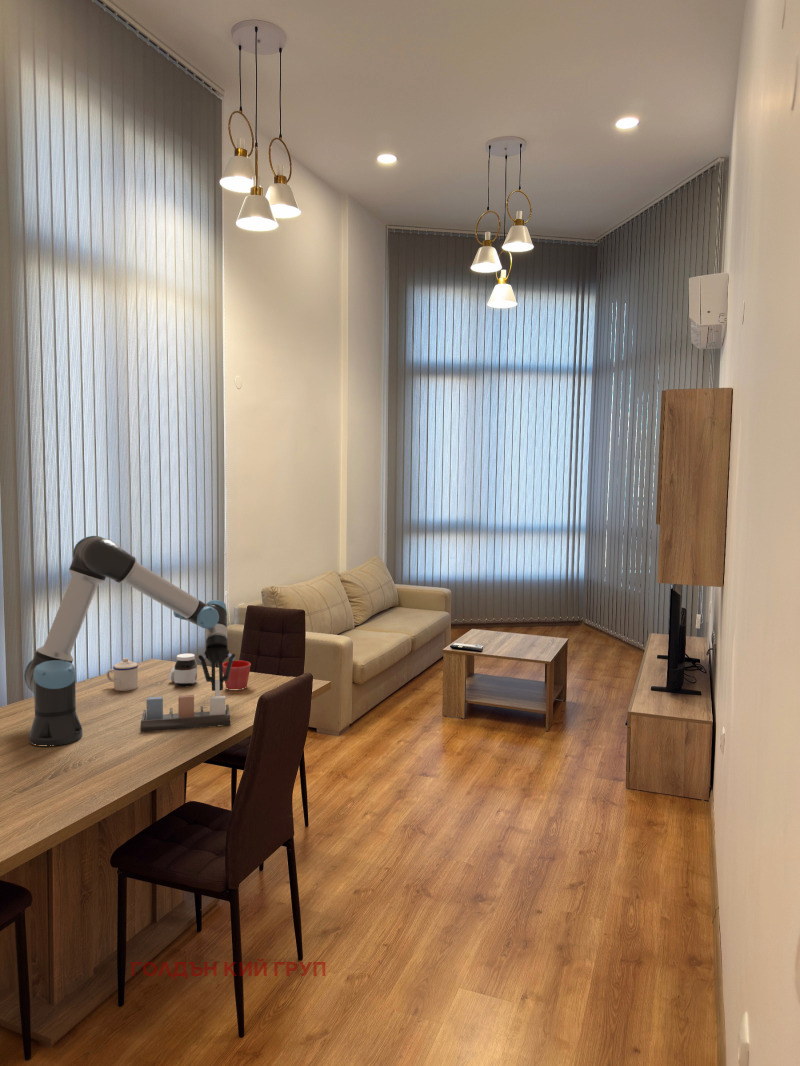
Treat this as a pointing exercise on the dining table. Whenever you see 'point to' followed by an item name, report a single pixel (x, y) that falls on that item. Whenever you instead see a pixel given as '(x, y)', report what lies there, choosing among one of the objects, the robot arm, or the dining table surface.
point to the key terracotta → (186, 706)
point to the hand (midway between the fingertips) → (217, 698)
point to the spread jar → (184, 670)
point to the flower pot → (237, 674)
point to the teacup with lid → (124, 675)
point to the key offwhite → (217, 705)
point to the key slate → (154, 708)
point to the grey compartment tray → (184, 721)
